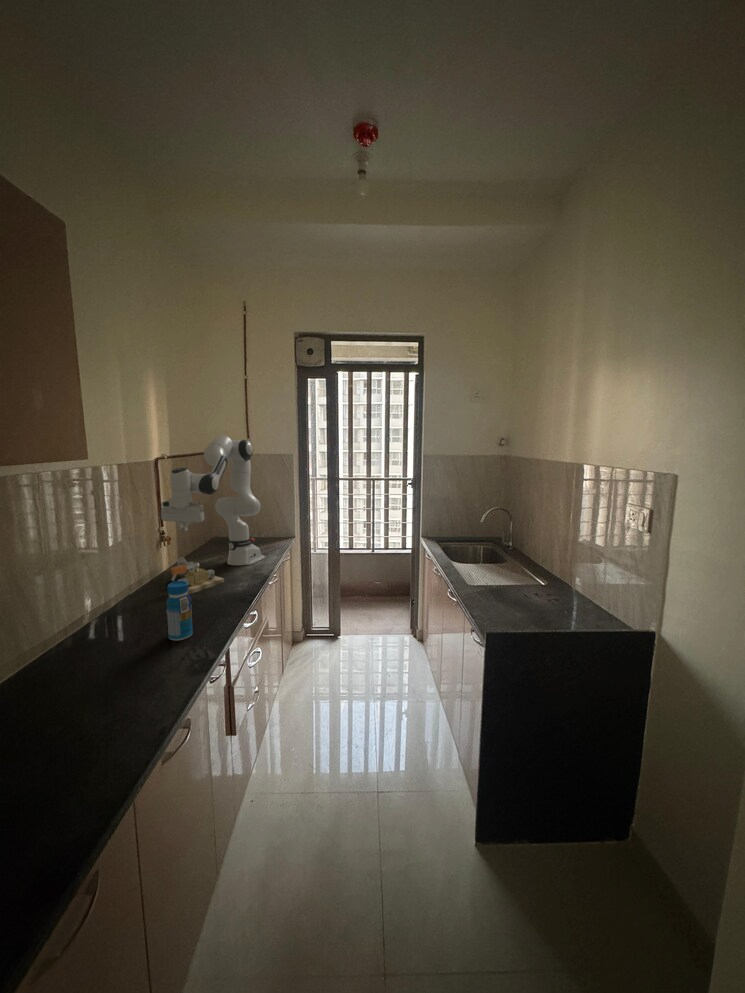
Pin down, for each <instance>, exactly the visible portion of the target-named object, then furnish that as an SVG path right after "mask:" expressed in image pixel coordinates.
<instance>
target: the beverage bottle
mask: <svg viewBox="0 0 745 993" xmlns="http://www.w3.org/2000/svg"><path fill="white" fill-rule="evenodd" d="M166 589H167V594H168V597H167V600H166V602H165V605H166V606H167V607H166V610H165V613H166V615H167V616H166V617H167V618H166V619H167V628H168V630H167V633H168V635H167V636H168V637H167V638H168V639H169V640H172V641H174V642H175V641H183V640H187V639H188V638H191V636H192V635H193V633H194V628H193V617H192V615H193V614H192V612H193V611H192V609H193V606H192V604H191V603H192V598H191V596H190V594H189V595H188V593H187V592H188V583H187V582H186V581H178V580H175V581H174V582H172V583H170V584H168V587H166Z"/></svg>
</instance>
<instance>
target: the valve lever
mask: <svg viewBox="0 0 745 993" xmlns="http://www.w3.org/2000/svg"><path fill="white" fill-rule="evenodd" d="M193 567H198V568H200V562H194V564H192V565H188V566H186V565H180V566H177V565H176V566H174V567H171V568H170V571H171V572H170V573H171V574H170V575H172V576H173V575H176V576H177V575H180V574H181V573H184V572H187V569H190V568H193Z"/></svg>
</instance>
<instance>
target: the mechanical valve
mask: <svg viewBox="0 0 745 993" xmlns="http://www.w3.org/2000/svg"><path fill="white" fill-rule="evenodd" d="M176 559H177V560H176V563H177V564H176V567H177V566H180V565H186V566H188V565H192V564H194V563H195V562H194V561H187V560H186V559H185V557H183V556H180V557H178V558H176ZM193 569H195V567H193V568H190V569H187V572H184V573H181V574H179V578H180V579H182V578H185V575H187V574H188V571H190V570H193ZM176 578H177V575H172V577H171V580H168V581H167V582H166V583H165V586H166V588H167V587H168V584H170V583H172V582H175V581H176V580H175V579H176Z"/></svg>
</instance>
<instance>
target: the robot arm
mask: <svg viewBox="0 0 745 993" xmlns="http://www.w3.org/2000/svg"><path fill="white" fill-rule="evenodd" d="M253 453H254V446H253V444H252V443H251V441H250V440H245V439H241V440H240V439H235V440H234V439H233V440H232V439H231V438H230V437H229V436H227V435H223V434H222V435H219V436H217V437H215V438H214V439H213V440H212V441H211V442H210V443H209V444H208V445H207V447H206V448H205V449H204V452H203V457H204V460H205V461H206V463H207V464H209V465H210V466H212V470H211V471H210V472H208V473H194V472H191V471H190V470H189V468H187V467H179V468H174V469H172V470H171V471H170V475H169V483H170V484H169V486H170V491H171V495H170V499H167V500H164V501H162V502H161V503H160V505H161V509H160V518H161V520H162V521H163V522H175V523H176V522H177V523H176V524H177V526H178V527H179V530H180V531H184V532H187V531H188V529H189V528H188V527H189V525H190V523H202V522H204V521H205V512H204V505H203V504H201V503H200V502H193V495H192V494H204V495H213V494H215V493H216V492H217V491H218V489H219V486H220V482H221V480H222V478H223V476H224V473H225V471H226V468H228V467H227V466H228V461H232V465H231V470H230V479H229V480H230V482H229V486H230V488H231V489H232V490H233V491H235V492H237V493H238V496H226V497H225V496H224V497H220V498H217V500H216V502H215V506H214V507H215V511H216V513H217V514H218V515H220V516H221V517H222V518H223V520H224V521H225V523H226V524H227V529H228V537H229V538H228V548H229V549H228V550H229V551H228V557H227V562H226V563H227V565H229V566H230V565H231V566H251V565H253V564H256V563H258V562H260V561H261V560H265V558H266V556H265V555H263V554H262V553H261V549H260V548H259V547H258V546H257V545H255V544H254V543H252V542H255V539H256V538H253V537H251V538H250V530H249V525H248V524H247V522H245V521H243V520H242V519H241V518H240V517H250V516H256V515H258V513H260V511H261V502H260V501H259V499H258V498H256V497H255V495H254V494H253V492H252V489H251V476H252V474H251V473H252V472H251V471H252V466H251V465H252V464H251V457H252V456H253ZM183 523H184V525H183Z"/></svg>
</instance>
